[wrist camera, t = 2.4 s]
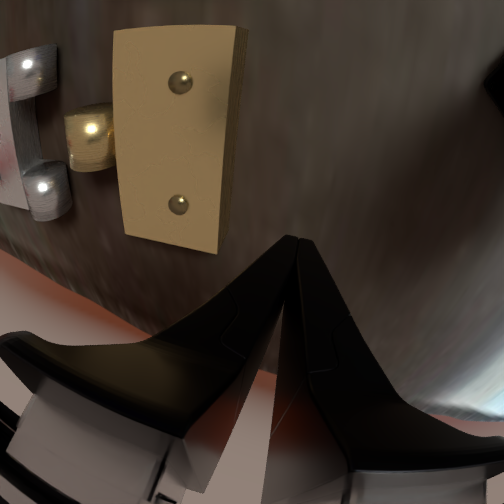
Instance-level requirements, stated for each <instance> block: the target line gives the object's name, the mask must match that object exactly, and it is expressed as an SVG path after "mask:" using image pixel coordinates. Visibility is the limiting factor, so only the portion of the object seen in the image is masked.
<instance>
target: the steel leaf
mask: <svg viewBox="0 0 504 504" xmlns="http://www.w3.org/2000/svg"><path fill="white" fill-rule="evenodd" d="M55 89H57V43H56V44H49V45H44V46H40V47H36V48H32V49H28V50H24V51H21V52H18V53H14V54H11V55H9V56H7V57H6V58H3V59H0V203H4V204H7V205H11V206H15V207H19V208H23V209H27V210H30V211H31V215H32V218H33V219H34V220H36V221H50V220H53V219H56V218H58V217H60V216H62V215H64V214H65V213H66V212H68V211H69V210H70V208H71V207H72V204H73V202H72V197H71V192H70V187H69V182H68V176H67V170H66V164H65V163H64V162H63V161H57V160H45V159H43V158H42V152H41V146H40V140H39V132H38V125H37V116H36V106H35V96H37V95H41V94H44V93H47V92H50V91H52V90H55Z"/></svg>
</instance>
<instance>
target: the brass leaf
mask: <svg viewBox="0 0 504 504" xmlns="http://www.w3.org/2000/svg"><path fill="white" fill-rule="evenodd" d="M248 32H249V30H248V29H245V28H241V27H238V26H225V25H173V26H155V27H143V28H133V29H124V30H117V31H114V40H113V102H108V103H98V104H92V105H87V106H83V107H79V108H76V109H73V110H71V111H69V112H67V113H66V114H65V115H64V121H65V131H66V140H67V148H68V155H69V162H70V167H71V169H72V170H74V171H78V172H93V171H99V170H103V169H107V168H110V167H112V166H115V165H117V173H118V183H119V191H120V200H121V207H122V215H123V222H124V228H125V234H128V235H133V236H137V237H141V238H146V239H150V240H155V241H159V242H164V243H168V244H172V245H177V246H181V247H186V248H190V249H195V250H199V251H204V252H208V253H213V254H217V253H218V251H219V249H220V247H221V245H222V243H223V241H224V239H225V236H226V234H227V232H228V229H229V217H230V205H231V194H232V182H233V171H234V161H235V150H236V140H237V130H238V120H239V110H240V101H241V92H242V83H243V74H244V65H245V56H246V48H247V40H248Z"/></svg>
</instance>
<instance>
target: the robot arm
mask: <svg viewBox="0 0 504 504" xmlns="http://www.w3.org/2000/svg"><path fill="white" fill-rule="evenodd" d="M492 82H493V83H494V89H491V83H492ZM484 87H485V89H486V91H487V92H488V94H489V95H490V97H491V98H492V100H493V101H494V103H495V104H496V106H497V108H498V109H499V111H500V112H501V114H502V116H503V117H504V55H503V56H502V57H501V64H500V65H499V66H498V67H497V68H496V69H495V70H494V71H493V72H492V73H491V74H490V75H489V76H488V77H487V78H486V79H485V81H484ZM284 301H285V302H284ZM283 304H284V307H283ZM282 307H283V317H282V328H281V339H280V350H279V360H278V370H277V380H276V389H275V398H274V407H273V416H272V424H271V433H270V440H269V449H268V456H267V464H266V471H265V479H264V485H263V493H262V499H261V504H487V479H489V478H492V477H494V476H496V475H498V474H500V473H502V472H504V437H502V436H491V437H479V436H474V435H470V434H467V433H465V432H462V431H460V430H458V429H456V428H454V427H452V426H450V425H448V424H446V423H444V422H442V421H440V420H438V419H436V418H434V417H432V416H430V415H428V414H426V413H424V412H422V411H420V410H418V409H417V408H415V407H413V406H411V405H409V404H408V403H407V402H405V401H404V400H403V399H402V398H401V397H400V396H399V395H398V393H397V392H396V391H395V389H394V388H393V386H392V385H391V383H390V381H389V380H388V378H387V376H386V375H385V373H384V372H383V370H382V368H381V367H380V365H379V364H378V362H377V360H376V359H375V357H374V356H373V354H372V352H371V351H370V349H369V347H368V346H367V344H366V342H365V341H364V339H363V337H362V335H361V333H360V331H359V329H358V328H357V326H356V324H355V322H354V320H353V318H352V316H350V315H351V314H350V312H349V310H348V308H347V306H346V304H345V302H344V300H343V298H342V296H341V294H340V292H339V290H338V288H337V286H336V284H335V282H334V280H333V278H332V276H331V274H330V272H329V270H328V269H327V267H326V265H325V263H324V261H323V259H322V257H321V255H320V253H319V252H318V250H317V248H316V246H315V244H314V242H313V241H312V240H309V239H304V238H300V239H298V237H295V236H291V235H284V236H283V237H282V238H281V239H280V240H279V241H277V242H276V243H275V244H274V245H273V246H272V247H270V248H269V249H268V250H267V251H266V252H265V253H263V254H262V255H261V256H260V257H259V258H258V259H256V260H255V261H254V262H253V263H252V264H251V265H250V266H248V267H247V268H246V269H245V270H244V271H243V272H241V273H240V274H239V275H238V276H237V277H236V278H234V279H233V280H232V281H231V282H230V283H228V284H227V285H226V287H224V288H222V289H221V290H220V291H219V292H218V293H217V294H215V295H214V296H213V297H212V298H210V299H209V300H208V301H207V302H205V303H204V304H202V305H201V306H199V307H198V308H197V309H195V310H194V311H192V312H191V313H189V314H188V315H186V316H184V317H183V318H181V319H180V320H178V321H176V322H175V323H173V324H172V325H170V326H169V327H167V328H165V329H164V330H162V331H161V332H159V333H157V334H156V335H154V336H152V337H150V338H148V339H146V340H144V341H140V342H137V343H130V344H111V345H85V346H67V345H59V344H55V343H51V342H48V341H46V340H43V339H42V338H40V337H38V336H36V335H35V334H32V333H31V332H28V331H18V332H10V333H7V334H4V335H2V336H0V357H1V359H2V360H3V361H4V362H5V363H6V364H7V366H8V367H9V368H10V369H11V370H12V371H13V373H14V374H15V375H16V376H17V377H18V378H19V379H20V380H21V382H22V383H23V384H24V385H25V386H26V387H27V388H28V389H29V390H30V391H31V392H32V393H33V396H32V397H31V399H30V401H29V403H28V404H27V406H26V408H25V409H24V411H23V413H22V415H21V417H20V416H18V415H17V414H16V413H14V412H13V411H12V410H10V409H9V408H8V407H7V406H6V405H4V404H3V403H2V402H1V401H0V504H181V502H182V499H183V496H184V493H185V490H186V489H190V490H193V491H196V492H199V493H204V492H205V489H206V487H207V485H208V483H209V481H210V479H211V476H212V475H213V472H214V470H215V468H216V466H217V464H218V462H219V459H220V457H221V455H222V453H223V451H224V448H225V446H226V444H227V442H228V440H229V437H230V435H231V433H232V429H233V428H234V426H235V424H236V421H237V419H238V417H239V414H240V412H241V409H242V407H243V405H244V403H245V400H246V398H247V396H248V393H249V391H250V388H251V386H252V384H253V381H254V379H255V376H256V374H257V371H258V369H259V367H260V364H261V362H262V359H263V357H264V354H265V352H266V349H267V347H268V344H269V342H270V339H271V337H272V334H273V331H274V329H275V326H276V324H277V321H278V318H279V316H280V313H281V310H282ZM503 504H504V503H503Z"/></svg>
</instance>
